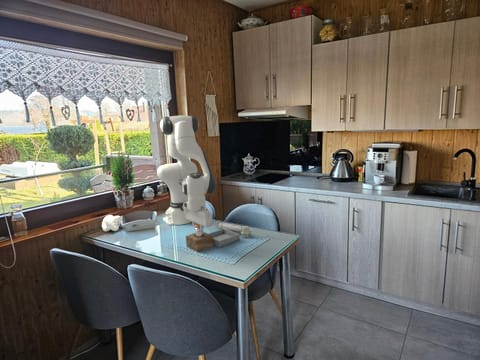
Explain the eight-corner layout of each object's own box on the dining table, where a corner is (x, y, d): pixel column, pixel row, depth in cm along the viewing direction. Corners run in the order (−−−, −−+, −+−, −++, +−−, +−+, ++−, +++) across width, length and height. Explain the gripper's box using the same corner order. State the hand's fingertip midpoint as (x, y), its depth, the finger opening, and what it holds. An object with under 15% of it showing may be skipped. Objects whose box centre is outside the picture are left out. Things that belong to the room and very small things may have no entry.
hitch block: (186, 246, 164) (185, 235, 163) (202, 241, 171) (201, 230, 170) (197, 252, 157) (196, 240, 156) (213, 246, 163) (212, 235, 162)
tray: (203, 240, 171) (203, 234, 171) (223, 234, 180) (223, 228, 180) (219, 247, 161) (219, 241, 160) (239, 240, 170) (239, 234, 169)
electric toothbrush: (222, 221, 192) (252, 224, 174) (224, 231, 192) (253, 235, 175) (216, 223, 188) (245, 226, 170) (217, 234, 189) (247, 238, 171)
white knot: (97, 233, 191) (95, 219, 189) (109, 226, 202) (107, 213, 201) (113, 233, 188) (112, 219, 187) (124, 227, 200) (123, 213, 198)
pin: (195, 245, 164) (194, 225, 162) (200, 243, 166) (199, 223, 164) (198, 247, 162) (197, 226, 159) (204, 245, 164) (202, 224, 162)
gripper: (214, 207, 154) (215, 234, 157) (191, 200, 169) (193, 224, 172) (203, 210, 150) (205, 237, 153) (181, 202, 165) (183, 227, 168)
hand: (198, 230), depth 162 cm, fingers closed on pin, 3 cm apart
